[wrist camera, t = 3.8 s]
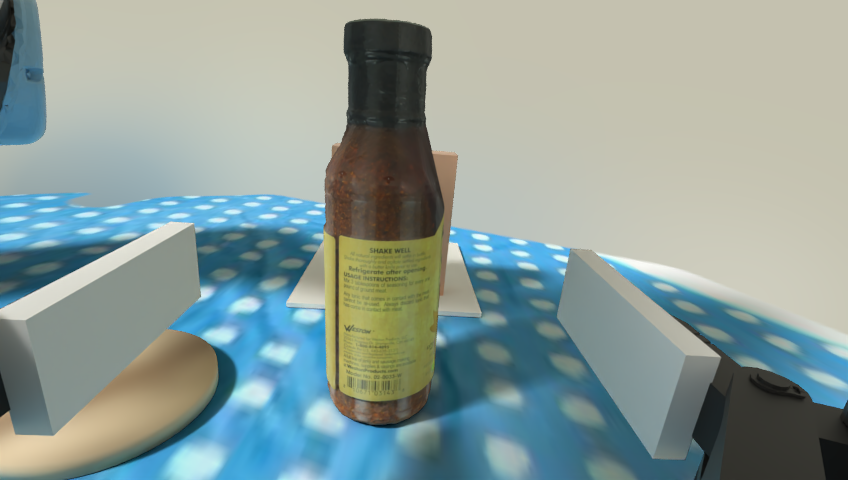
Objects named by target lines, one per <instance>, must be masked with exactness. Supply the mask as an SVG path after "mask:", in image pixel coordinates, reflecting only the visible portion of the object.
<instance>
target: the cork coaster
mask: <svg viewBox="0 0 848 480" xmlns="http://www.w3.org/2000/svg"><path fill="white" fill-rule="evenodd" d="M218 379H219V374H218V362H217V356H216V353H215V351H214V349H213V348H212V347H211V345H210V344H208V343H207V342H206V341H205V340H203V339H201V338H199V337H197V336H195V335H192V334H190V333H186V332H182V331H176V330H169V329H166V330H165V331H164V332H163V333H162V334H161V335H160V336H159V337H158V338H157V339H156V340H155V341H153V342H152V343H151V344H150V345H149V346H148V347H147V348H146V349H145V350H144V351H143V352H142V353H141V354H140V355H139V356H138V357H137V358H135V359H134V360H133V361H132V362H131V363H130V364H129V365H128V366H127V367H126V368H125V369H124V370H123V371H122V372H121V373H120V374H119V375H117V376H116V377H115V378H114V379H113V380H112V381H111V382H110V383H109V384H108V385H107V386H106V387H105V388H104V389H103V390H102V391H101V392H99V393H98V394H97V395H96V396H95V397H94V398H93V399H92V400H91V401H90V402H89V403H88V404H87V405H86V406H85V407H84V408H83V409H82V410H80V411H79V412H78V413H77V414H76V415H75V416H74V417H73V418H72V419H71V420H70V421H69V422H68V423H67V424H66V425H65V426H64V427H62V428H61V429H60V430H59V431H58V432H57V433H56V434H55V435H54V436H41V435H15V432H14V428H13V424H12V421H11V417H10V413H9V411H8V412H7V413H6V414H4V415H3V416H2V417H0V480H65V479H70V478H75V477H80V476H83V475H87V474H91V473H94V472H98V471H101V470H104V469H107V468H109V467H112V466H115V465H118V464H121V463H123V462H125V461H128V460H130V459H132V458H135V457H137V456H139V455H141V454H143V453H145V452H147V451H149V450H151V449H153V448H155V447H156V446H158V445H160V444H161V443H163V442H165V441H166V440H168V439H170V438H171V437H173V436H174V435H175V434H177V433H178V432H180V431H181V430H182V429H184V428H185V427H186V426H187V425H188V424H190V423H191V422H192V421H193V420H194V419H195V418H196V417H197V416H198V415H199V414H200V413H201V412H202V411H203V410H204V409H205V407H206V406H207V405H208V403H209V402H210V401H211V399H212V397H213V395H214V393H215V391H216V388H217V385H218Z"/></svg>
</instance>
